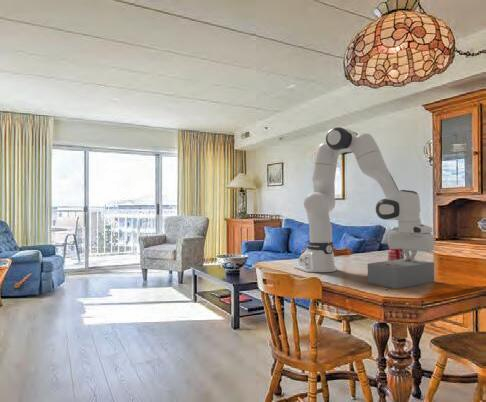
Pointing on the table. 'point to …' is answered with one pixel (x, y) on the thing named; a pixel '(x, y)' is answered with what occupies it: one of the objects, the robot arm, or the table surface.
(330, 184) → the robot arm
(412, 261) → the peg
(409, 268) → the block
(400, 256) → the soda can
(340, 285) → the table surface
